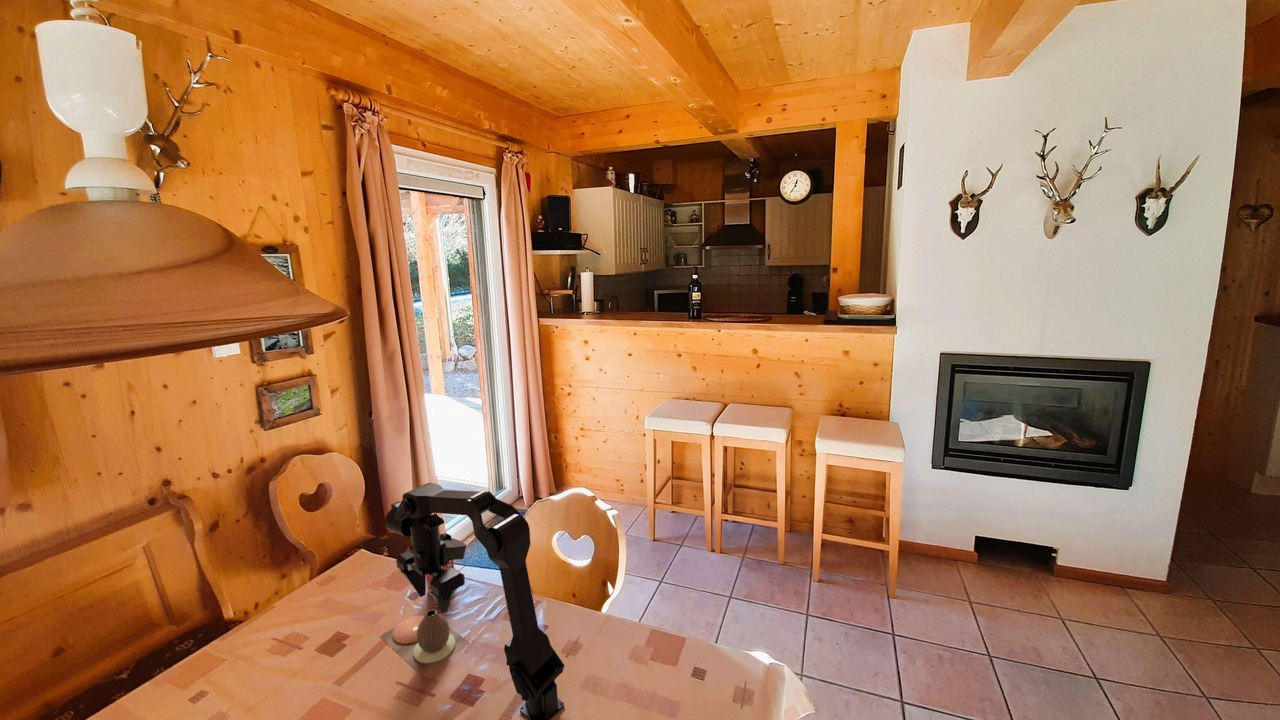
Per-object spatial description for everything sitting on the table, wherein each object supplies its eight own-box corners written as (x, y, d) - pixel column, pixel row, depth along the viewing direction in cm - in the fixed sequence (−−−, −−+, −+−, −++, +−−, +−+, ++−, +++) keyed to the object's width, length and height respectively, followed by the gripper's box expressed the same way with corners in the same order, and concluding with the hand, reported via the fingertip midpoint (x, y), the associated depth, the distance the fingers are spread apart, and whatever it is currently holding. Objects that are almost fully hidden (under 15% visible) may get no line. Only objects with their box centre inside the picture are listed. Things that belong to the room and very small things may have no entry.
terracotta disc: (440, 627, 126) (440, 625, 126) (404, 650, 119) (404, 647, 119) (421, 612, 131) (421, 610, 131) (385, 632, 125) (385, 630, 124)
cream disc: (463, 645, 120) (463, 643, 120) (426, 670, 113) (426, 667, 113) (442, 629, 126) (441, 626, 125) (405, 651, 119) (405, 649, 119)
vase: (432, 633, 123) (428, 600, 122) (457, 638, 121) (453, 605, 120) (411, 654, 117) (407, 620, 115) (437, 660, 115) (433, 626, 113)
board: (469, 646, 121) (469, 642, 121) (421, 679, 112) (420, 675, 112) (426, 612, 133) (426, 609, 133) (379, 639, 124) (379, 636, 124)
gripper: (482, 538, 115) (488, 601, 118) (436, 513, 126) (443, 571, 129) (436, 562, 106) (443, 629, 109) (391, 533, 118) (399, 594, 121)
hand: (433, 603), depth 117 cm, fingers open, 9 cm apart
